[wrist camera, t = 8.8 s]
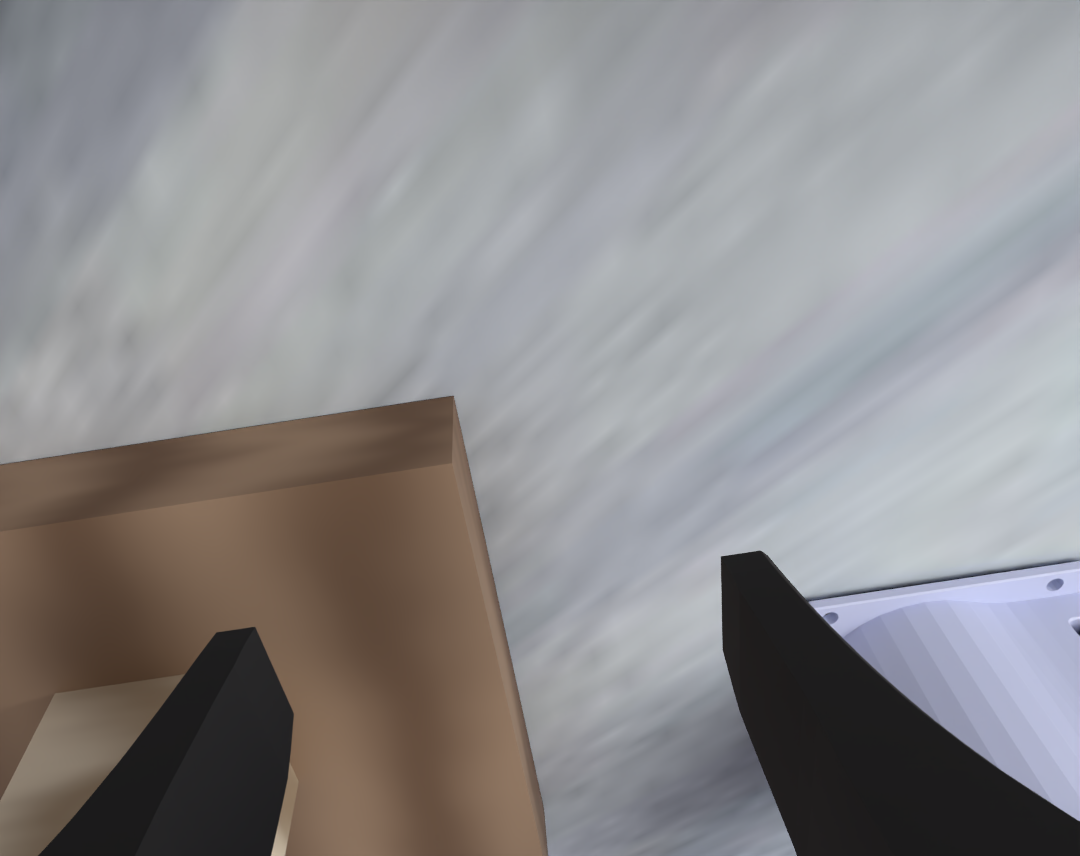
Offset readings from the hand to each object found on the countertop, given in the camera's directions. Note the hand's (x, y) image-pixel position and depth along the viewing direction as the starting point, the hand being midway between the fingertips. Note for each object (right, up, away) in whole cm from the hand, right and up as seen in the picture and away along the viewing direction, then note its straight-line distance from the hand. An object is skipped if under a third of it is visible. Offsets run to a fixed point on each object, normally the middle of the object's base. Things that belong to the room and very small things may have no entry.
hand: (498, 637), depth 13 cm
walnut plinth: (-9, -5, +13) cm, 17 cm away
